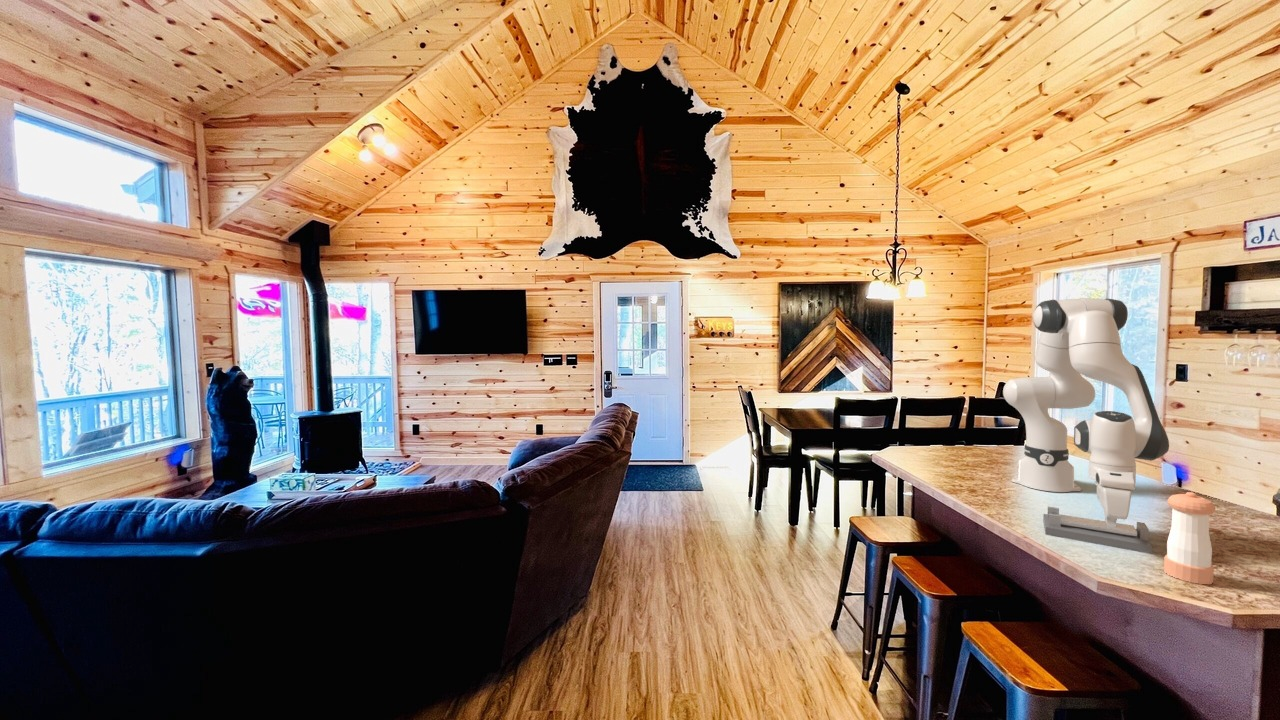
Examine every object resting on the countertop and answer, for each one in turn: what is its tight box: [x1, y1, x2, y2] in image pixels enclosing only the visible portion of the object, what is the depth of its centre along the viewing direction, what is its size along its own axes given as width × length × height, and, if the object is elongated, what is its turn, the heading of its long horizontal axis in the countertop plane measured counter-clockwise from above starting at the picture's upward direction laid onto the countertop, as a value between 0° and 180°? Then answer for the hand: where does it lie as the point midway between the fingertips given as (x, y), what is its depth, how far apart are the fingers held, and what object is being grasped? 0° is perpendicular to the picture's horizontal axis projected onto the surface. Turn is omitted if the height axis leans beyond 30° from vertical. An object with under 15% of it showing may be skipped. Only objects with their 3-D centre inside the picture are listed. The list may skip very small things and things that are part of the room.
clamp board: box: [1042, 505, 1152, 555], centre depth 129 cm, size 12×20×5 cm, turn 52°
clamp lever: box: [1050, 513, 1137, 536], centre depth 130 cm, size 5×17×2 cm, turn 52°
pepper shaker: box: [1163, 491, 1216, 585], centre depth 107 cm, size 7×7×19 cm
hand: (1110, 525), depth 127 cm, fingers closed, pressing on clamp lever
